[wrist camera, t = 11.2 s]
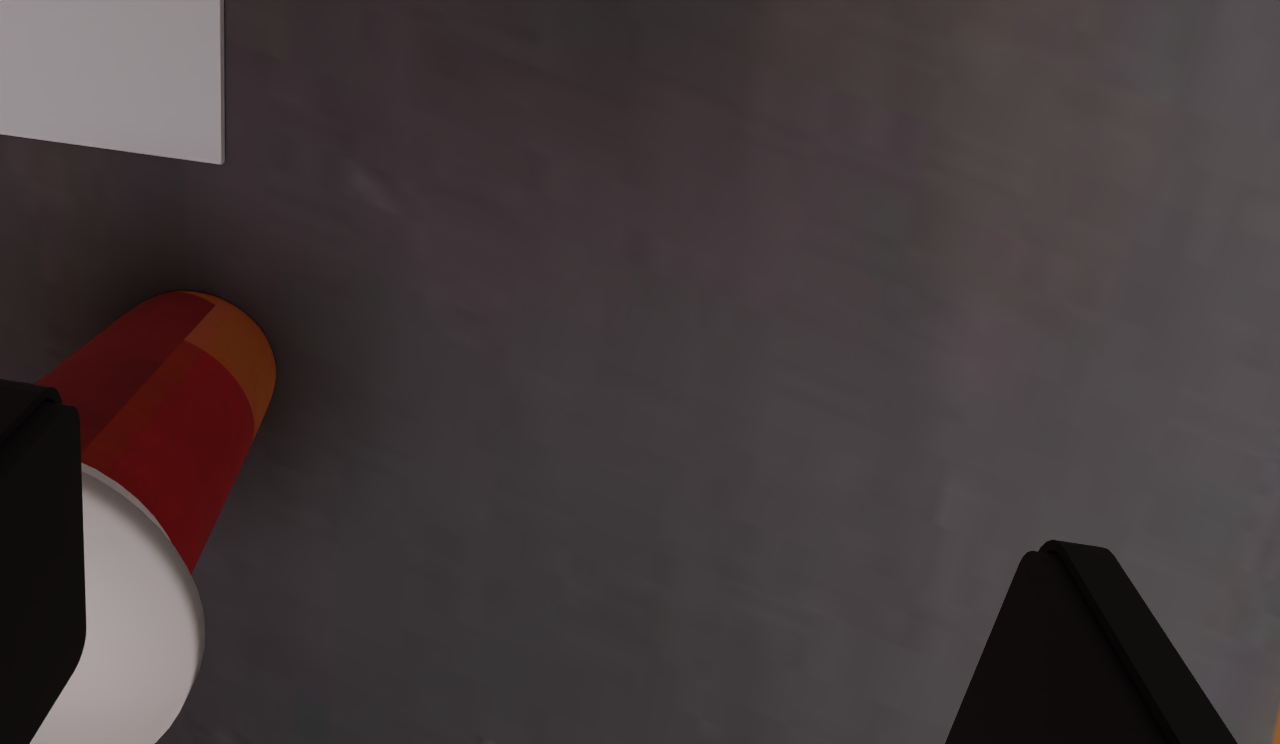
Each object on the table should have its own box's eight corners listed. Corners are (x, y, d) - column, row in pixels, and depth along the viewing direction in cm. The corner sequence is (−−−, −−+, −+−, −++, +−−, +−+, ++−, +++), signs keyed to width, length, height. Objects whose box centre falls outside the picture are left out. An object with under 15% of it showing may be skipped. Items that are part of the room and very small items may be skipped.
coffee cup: (59, 405, 44) (-192, 665, 30) (121, 222, 41) (-127, 420, 27) (268, 490, 46) (120, 771, 32) (343, 320, 42) (214, 552, 29)
